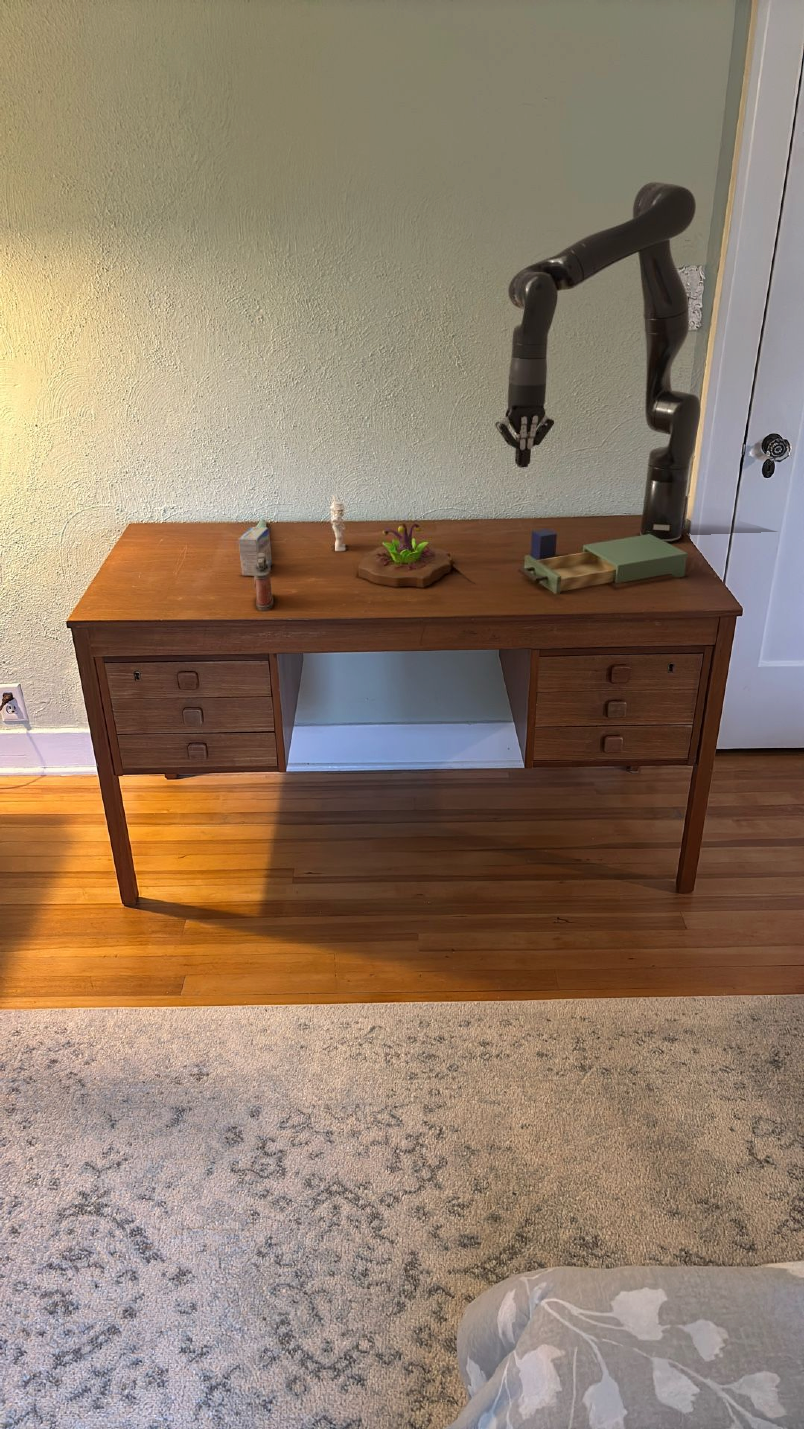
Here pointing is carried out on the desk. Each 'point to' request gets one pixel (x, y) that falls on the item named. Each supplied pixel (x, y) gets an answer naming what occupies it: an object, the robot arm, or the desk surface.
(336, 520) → the hat wearing toy figure
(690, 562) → the desk surface
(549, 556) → the tea box
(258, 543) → the medicine box
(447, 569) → the plant
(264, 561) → the lighter
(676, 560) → the box
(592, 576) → the tray
